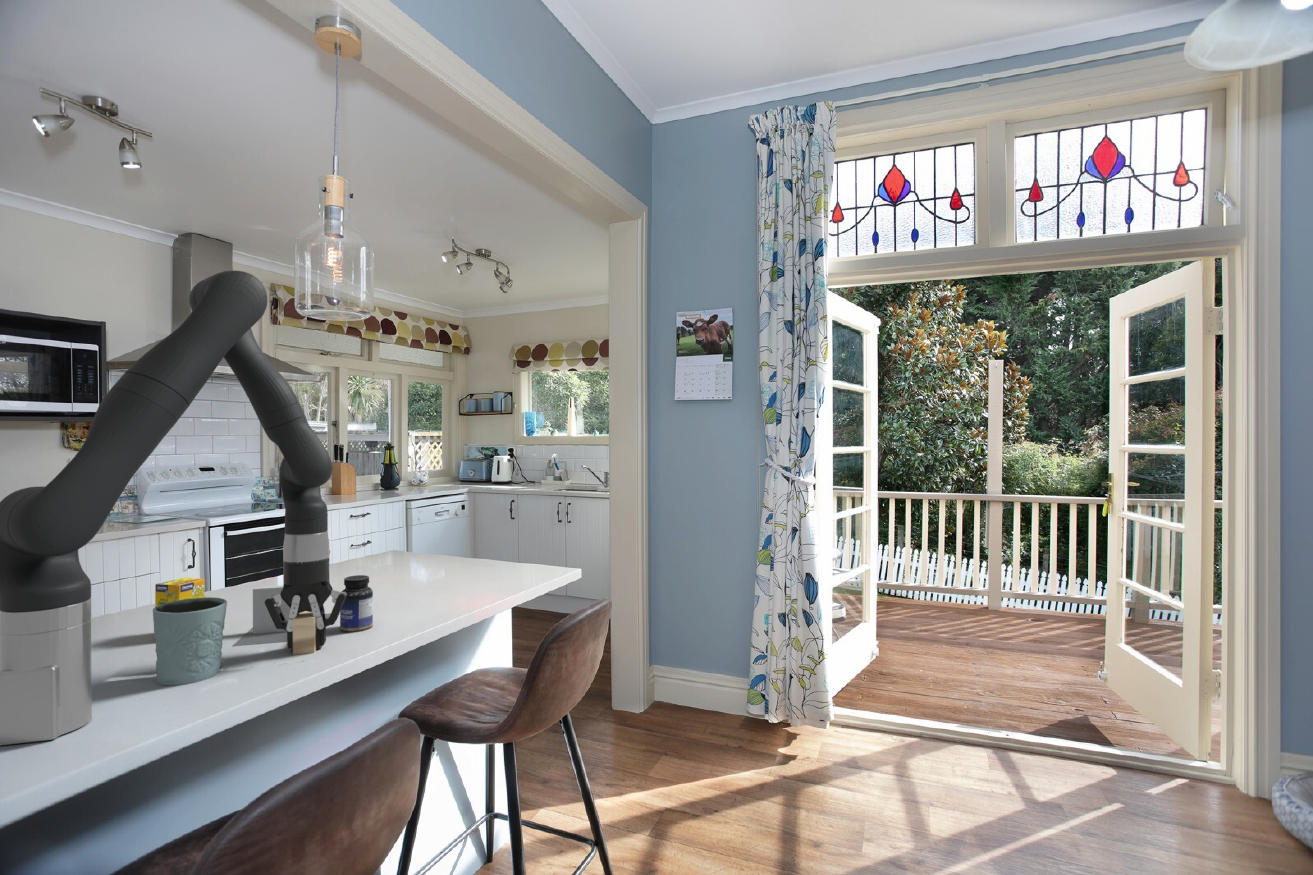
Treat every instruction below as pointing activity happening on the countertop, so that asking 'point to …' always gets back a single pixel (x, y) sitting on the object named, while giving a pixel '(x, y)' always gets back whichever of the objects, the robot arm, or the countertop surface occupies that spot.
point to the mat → (263, 637)
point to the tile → (260, 612)
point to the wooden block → (304, 633)
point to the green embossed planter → (188, 639)
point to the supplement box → (179, 590)
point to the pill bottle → (357, 605)
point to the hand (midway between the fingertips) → (307, 648)
